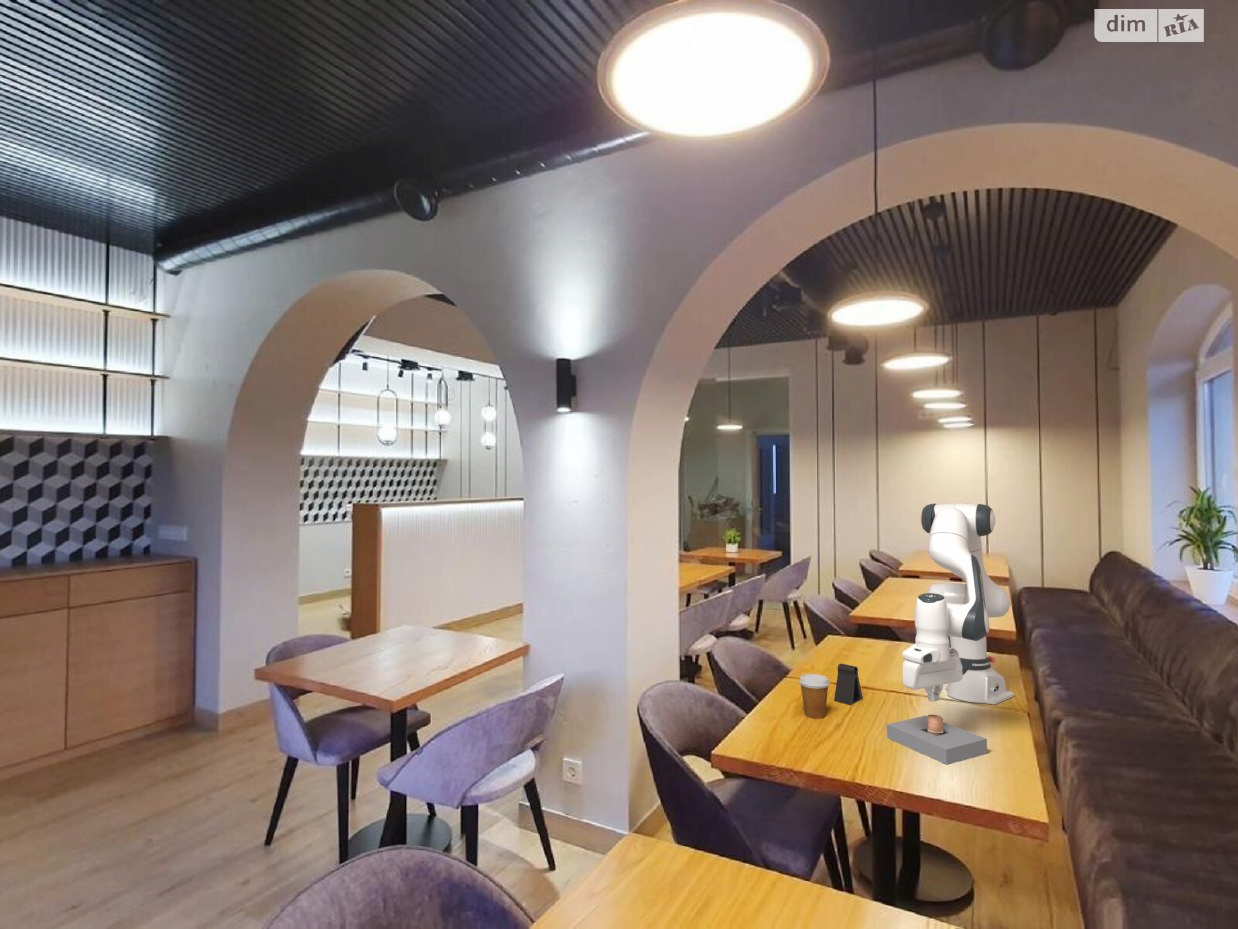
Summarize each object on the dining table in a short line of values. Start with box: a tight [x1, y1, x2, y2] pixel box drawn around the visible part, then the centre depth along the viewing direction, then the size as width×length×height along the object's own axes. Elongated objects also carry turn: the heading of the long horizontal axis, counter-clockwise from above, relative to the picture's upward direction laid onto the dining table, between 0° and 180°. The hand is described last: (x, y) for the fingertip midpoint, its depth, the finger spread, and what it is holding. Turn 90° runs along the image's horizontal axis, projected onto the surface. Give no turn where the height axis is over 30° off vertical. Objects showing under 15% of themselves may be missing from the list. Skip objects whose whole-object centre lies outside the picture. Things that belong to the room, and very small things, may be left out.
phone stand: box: [833, 663, 864, 706], centre depth 221 cm, size 9×6×12 cm, turn 133°
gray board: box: [886, 714, 988, 766], centre depth 182 cm, size 16×20×4 cm
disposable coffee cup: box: [798, 673, 831, 719], centre depth 207 cm, size 10×10×12 cm
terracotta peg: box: [926, 714, 944, 736], centre depth 182 cm, size 4×4×8 cm
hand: (934, 700), depth 182 cm, fingers closed
